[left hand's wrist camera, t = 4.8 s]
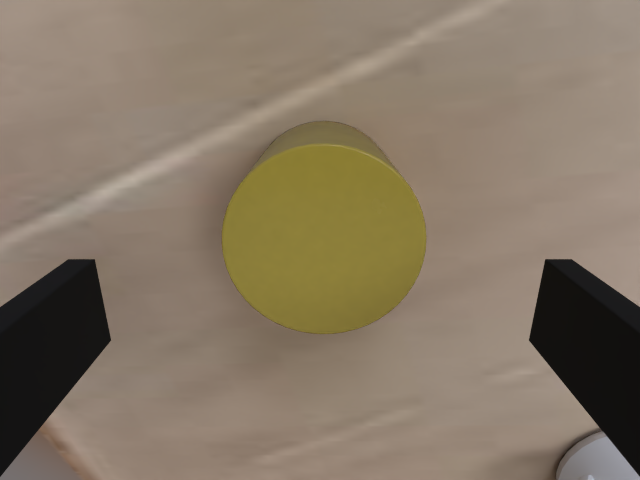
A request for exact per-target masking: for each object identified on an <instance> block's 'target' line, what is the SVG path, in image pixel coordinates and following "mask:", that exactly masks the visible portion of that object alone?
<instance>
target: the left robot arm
mask: <svg viewBox="0 0 640 480" xmlns="http://www.w3.org/2000/svg"><path fill="white" fill-rule="evenodd" d="M110 341H111V338H110V333H109V328H108V323H107V318H106V313H105V308H104V303H103V298H102V293H101V288H100V283H99V278H98V274H97V269H96V264H95V259H68V260H67V261H65V262H64V263H63V264H61V265H60V266H58V267H57V268H55V269H54V270H53V271H51V272H50V273H48V274H47V275H45V276H44V277H43V278H41V279H40V280H38V281H37V282H35V283H34V284H33V285H31V286H30V287H28V288H27V289H26V290H24V291H23V292H21V293H20V294H18V295H17V296H16V297H14V298H13V299H11V300H10V301H8V302H7V303H6V304H4V305H3V306H1V307H0V476H1V475H2V474H3V473H4V471H5V470H6V469H7V468H8V467H9V465H10V464H11V463H12V462H13V460H14V459H15V458H16V457H17V456H18V454H19V453H20V452H21V451H22V449H23V448H24V447H25V446H26V444H27V443H28V442H29V441H30V439H31V438H32V437H33V436H34V435H35V433H36V432H37V431H38V430H39V428H40V427H41V426H42V425H43V423H44V422H45V421H46V420H47V419H48V417H49V416H50V415H51V414H52V412H53V411H54V410H55V409H56V407H57V406H58V405H59V404H60V403H61V401H62V400H63V399H64V398H65V396H66V395H67V394H68V393H69V391H70V390H71V389H72V388H73V387H74V385H75V384H76V383H77V382H78V380H79V379H80V378H81V377H82V375H83V374H84V373H85V372H86V371H87V369H88V368H89V367H90V366H91V364H92V363H93V362H94V361H95V359H96V358H97V357H98V356H99V354H100V353H101V352H102V351H103V350H104V348H105V347H106V346H107V345H108V343H109V342H110ZM529 341H530V342H531V343H532V345H533V346H534V347H535V348H536V350H537V351H538V352H539V353H540V354H541V356H542V357H543V358H544V359H545V361H546V362H547V363H548V364H549V366H550V367H551V368H552V369H553V371H554V372H555V373H556V374H557V375H558V377H559V378H560V379H561V380H562V382H563V383H564V384H565V385H566V387H567V388H568V389H569V390H570V391H571V393H572V394H573V395H574V396H575V398H576V399H577V400H578V401H579V403H580V404H581V405H582V406H583V407H584V409H585V410H586V411H587V412H588V414H589V415H590V416H591V417H592V419H593V420H594V421H595V422H596V423H597V425H598V426H599V427H600V428H601V430H602V431H603V432H604V433H605V435H606V436H607V437H608V438H609V439H610V441H611V442H612V443H613V444H614V446H615V447H616V448H617V449H618V451H619V452H620V453H621V454H622V456H623V457H624V458H625V459H626V460H627V462H628V463H629V464H630V465H631V467H632V468H633V469H634V470H635V472H636V473H637V474H638V475H639V476H640V307H639V306H637V305H636V304H634V303H633V302H632V301H630V300H629V299H627V298H626V297H624V296H623V295H622V294H620V293H619V292H617V291H616V290H614V289H613V288H612V287H610V286H609V285H607V284H606V283H605V282H603V281H602V280H600V279H599V278H597V277H596V276H595V275H593V274H592V273H590V272H589V271H587V270H586V269H585V268H583V267H582V266H580V265H579V264H577V263H576V262H575V261H573V260H572V259H545V264H544V269H543V274H542V278H541V283H540V288H539V293H538V298H537V303H536V308H535V313H534V318H533V323H532V328H531V333H530V338H529Z"/></svg>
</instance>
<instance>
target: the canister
mask: <svg viewBox="0 0 640 480" xmlns="http://www.w3.org/2000/svg"><path fill="white" fill-rule="evenodd" d="M222 250H223V257H224V261H225V264H226V268H227V270H228V273H229V275H230V277H231V280H232V281H233V283H234V285H235V286H236V288H237V290H238V291H239V292H240V294H241V295H242V296H243V297H244V299H245V300H246V301H247V302H248V303H249V304H250V305H251V306H252V307H253V308H254V309H255V310H257V311H258V312H259V313H261V314H262V315H263V316H265V317H266V318H268V319H270V320H271V321H273V322H275V323H277V324H280V325H282V326H284V327H287V328H290V329H293V330H296V331H301V332H306V333H314V334H334V333H341V332H347V331H351V330H355V329H358V328H361V327H363V326H366V325H369V324H370V323H372V322H374V321H376V320H378V319H380V318H381V317H383V316H384V315H386V314H387V313H389V312H390V311H391V310H392V309H393V308H394V307H396V306H397V305H398V304H399V303H400V302H401V301H402V299H403V298H404V297H405V296H406V295H407V294H408V292H409V291H410V289H411V288H412V286H413V285H414V283H415V281H416V279H417V277H418V275H419V273H420V270H421V267H422V264H423V261H424V256H425V251H426V226H425V221H424V217H423V212H422V210H421V207H420V204H419V202H418V200H417V198H416V196H415V194H414V192H413V191H412V189H411V187H410V186H409V185H408V184H407V182H406V181H405V180H404V178H403V177H402V176H401V175H400V173H399V172H398V171H397V170H396V168H395V167H394V166H393V165H392V163H391V162H390V161H389V159H388V158H387V157H386V156H385V154H384V153H383V152H382V151H381V149H380V148H379V147H378V146H377V144H376V143H375V142H373V141H372V140H371V139H370V138H369V137H368V136H367V135H365V134H364V133H363V132H361V131H359V130H357V129H355V128H353V127H351V126H348V125H346V124H342V123H337V122H330V121H315V122H310V123H305V124H302V125H299V126H296V127H294V128H292V129H290V130H288V131H286V132H285V133H283V134H282V135H280V136H279V137H278V138H277V139H276V140H275V141H273V142H272V144H271V145H270V146H269V147H268V148H267V149H266V151H265V152H264V153H263V155H262V156H261V157H260V158H259V160H258V161H257V162H256V164H255V165H254V166H253V168H252V169H251V170H250V172H249V173H248V174H247V175H246V177H245V178H244V179H243V181H242V182H241V183H240V185H239V186H238V188H237V189H236V191H235V192H234V194H233V196H232V198H231V200H230V202H229V204H228V206H227V210H226V213H225V216H224V220H223V227H222Z"/></svg>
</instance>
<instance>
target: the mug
mask: <svg viewBox="0 0 640 480" xmlns="http://www.w3.org/2000/svg"><path fill="white" fill-rule="evenodd" d="M556 480H640V476H639V475H638V474H637V473H636V472H635V470H634V469H633V468H632V467H631V465H630V464H629V463H628V462H627V460H626V459H625V458H624V457H623V456H622V454H621V453H620V452H619V451H618V449H617V448H616V447H615V446H614V444H613V443H612V442H611V441H610V439H609V438H608V437H607V436H606V435H605V433H604V432H603V431H601V432H598V433H595V434H592V435H590V436H589V437H587V438H585V439H583V440H581V441H580V442H578V443H577V444H576V445H574V446H573V447H572V448H571V449H570V450H569V451H568V452H567V453H566V454H565V456H564V457H563V458H562V460H561V461H560V463H559V466H558V469H557V472H556Z"/></svg>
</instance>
